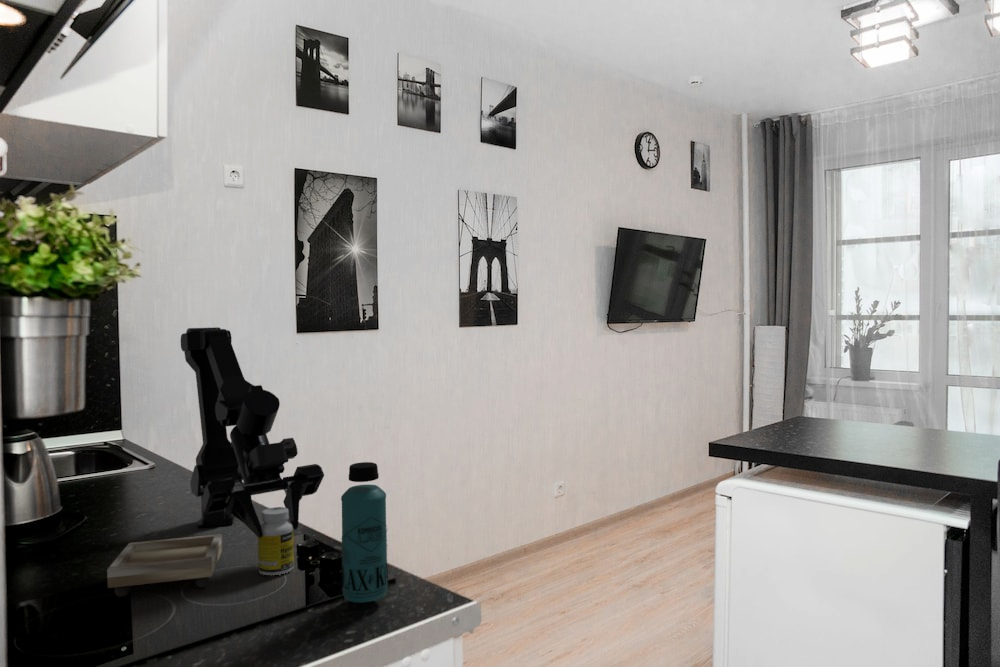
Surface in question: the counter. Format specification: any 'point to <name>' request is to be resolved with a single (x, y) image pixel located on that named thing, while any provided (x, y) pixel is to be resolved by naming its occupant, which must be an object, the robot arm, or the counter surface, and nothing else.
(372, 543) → the beverage bottle
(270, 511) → the supplement bottle
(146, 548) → the shallow square tray
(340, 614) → the counter surface
